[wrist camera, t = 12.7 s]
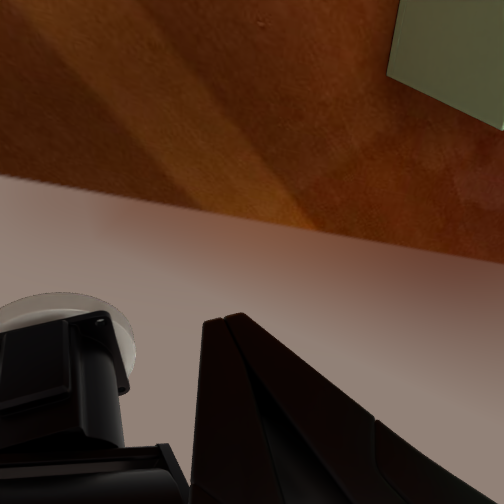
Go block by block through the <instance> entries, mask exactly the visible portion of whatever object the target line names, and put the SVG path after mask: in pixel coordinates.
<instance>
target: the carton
mask: <svg viewBox="0 0 504 504" xmlns="http://www.w3.org/2000/svg"><path fill="white" fill-rule="evenodd" d="M386 75H387V76H389V77H391V78H393V79H395V80H397V81H399V82H401V83H403V84H406V85H408V86H410V87H412V88H414V89H416V90H418V91H420V92H422V93H424V94H426V95H429V96H431V97H433V98H435V99H437V100H439V101H441V102H443V103H445V104H447V105H449V106H451V107H454V108H456V109H458V110H460V111H462V112H464V113H466V114H468V115H470V116H472V117H474V118H477V119H479V120H481V121H483V122H485V123H487V124H489V125H491V126H493V127H495V128H497V129H499V130H504V0H400V4H399V10H398V15H397V20H396V26H395V31H394V36H393V42H392V47H391V52H390V58H389V63H388V69H387V74H386Z"/></svg>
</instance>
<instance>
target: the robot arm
mask: <svg viewBox="0 0 504 504" xmlns="http://www.w3.org/2000/svg"><path fill="white" fill-rule="evenodd" d="M101 319H103V321H98V320H101ZM129 390H130V385H129V380H128V376H127V373H126V369H125V365H124V362H123V358H122V355H121V351H120V347H119V344H118V340H117V337H116V333H115V329H114V326H113V322H112V318H111V315H110V313H109V312H107V311H104V310H99V311H94V312H90V313H85V314H81V315H76V316H72V317H68V318H63V319H59V320H54V321H50V322H46V323H41V324H37V325H32V326H28V327H24V328H19V329H15V330H10V331H6V332H2V333H0V504H497V503H496V502H494V501H493V500H491V499H490V498H488V497H486V496H485V495H483V494H482V493H480V492H479V491H477V490H476V489H474V488H473V487H471V486H469V485H468V484H467V483H465V482H464V481H462V480H461V479H459V478H457V477H456V476H454V475H453V474H451V473H450V472H448V471H447V470H445V469H444V468H442V467H441V466H439V465H438V464H437V463H435V462H434V461H432V460H431V459H429V458H428V457H426V456H425V455H424V454H422V453H421V452H419V451H418V450H417V449H415V448H414V447H413V446H411V445H410V444H409V443H407V442H406V441H405V440H404V439H402V438H401V437H399V436H398V435H397V434H396V433H394V432H393V431H392V430H391V429H389V428H388V427H387V426H385V425H384V424H383V423H382V422H381V421H379V420H375V418H374V416H373V415H371V414H370V413H369V412H368V411H366V410H365V409H364V408H363V407H361V406H360V405H359V404H358V403H356V402H355V401H354V400H353V399H351V398H350V397H349V396H348V395H346V394H345V393H344V392H343V391H341V390H340V389H339V388H338V387H336V386H335V385H334V384H332V383H331V382H330V381H329V380H328V379H326V378H325V377H324V376H322V375H321V374H320V373H319V372H317V371H316V370H315V369H314V368H312V367H311V366H310V365H308V364H307V363H306V362H305V361H304V360H302V359H301V358H300V357H299V356H297V355H296V354H295V353H294V352H292V351H291V350H290V349H289V348H287V347H286V346H285V345H284V344H282V343H281V342H280V341H279V340H277V339H276V338H275V337H273V336H272V335H271V334H270V333H268V332H267V331H266V330H265V329H263V328H262V327H261V326H260V325H258V324H257V323H256V322H255V321H253V320H252V319H251V318H250V317H248V316H247V315H246V314H244V313H236V314H232V315H228V316H225V317H224V319H222V318H215V319H212V320H208V321H205V322H204V323H203V327H202V340H201V353H200V365H199V378H198V392H197V403H196V417H195V429H194V430H195V431H194V443H193V456H192V467H191V480H190V481H191V485H190V487H189V485H188V483H187V481H186V479H185V477H184V475H183V473H182V470H181V468H180V466H179V464H178V462H177V460H176V458H175V456H174V454H173V452H172V449H171V447H170V445H169V444H168V443H164V444H156V445H155V446H144V447H125V445H124V437H123V429H122V422H121V413H120V405H119V398H118V396H121V395H124V394H126V393H127V392H128V391H129Z"/></svg>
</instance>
